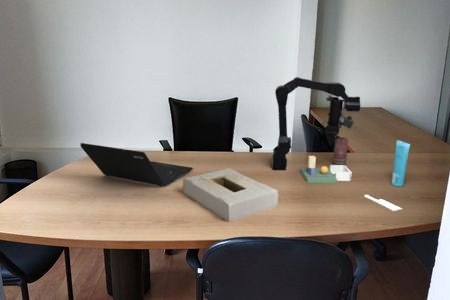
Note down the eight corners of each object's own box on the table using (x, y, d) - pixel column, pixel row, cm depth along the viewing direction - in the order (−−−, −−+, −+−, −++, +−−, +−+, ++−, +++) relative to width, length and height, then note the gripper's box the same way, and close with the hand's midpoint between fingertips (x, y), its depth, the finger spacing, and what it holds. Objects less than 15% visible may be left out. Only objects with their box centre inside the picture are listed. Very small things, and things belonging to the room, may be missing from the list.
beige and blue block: (309, 175, 172) (310, 159, 170) (306, 170, 179) (307, 154, 177) (315, 175, 172) (317, 159, 170) (312, 170, 179) (313, 154, 177)
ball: (320, 175, 174) (321, 167, 173) (318, 172, 178) (319, 165, 177) (328, 175, 174) (329, 167, 173) (326, 172, 178) (327, 165, 177)
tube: (408, 186, 166) (414, 143, 160) (400, 188, 164) (406, 144, 158) (394, 180, 172) (399, 139, 167) (386, 182, 170) (392, 140, 165)
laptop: (193, 171, 183) (193, 131, 178) (146, 200, 150) (144, 152, 145) (136, 161, 196) (134, 124, 191) (82, 186, 164) (77, 142, 158)
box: (182, 194, 157) (228, 223, 132) (181, 176, 155) (229, 203, 130) (228, 183, 170) (278, 208, 145) (228, 166, 168) (279, 189, 143)
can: (346, 168, 188) (349, 140, 184) (333, 167, 190) (335, 139, 186) (345, 164, 194) (348, 137, 190) (332, 163, 195) (334, 136, 191)
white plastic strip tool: (373, 195, 157) (373, 192, 157) (403, 209, 144) (403, 207, 144) (363, 197, 155) (364, 194, 155) (393, 212, 142) (394, 209, 142)
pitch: (307, 182, 169) (307, 177, 168) (300, 171, 183) (301, 166, 183) (337, 182, 169) (337, 177, 169) (327, 171, 184) (328, 166, 183)
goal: (335, 180, 172) (336, 172, 171) (329, 173, 181) (330, 165, 180) (351, 180, 172) (351, 172, 171) (344, 173, 181) (344, 165, 180)
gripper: (352, 116, 166) (348, 150, 170) (354, 109, 183) (350, 140, 187) (326, 113, 169) (322, 147, 174) (330, 106, 186) (327, 138, 191)
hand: (331, 143), depth 181 cm, fingers open, 9 cm apart
